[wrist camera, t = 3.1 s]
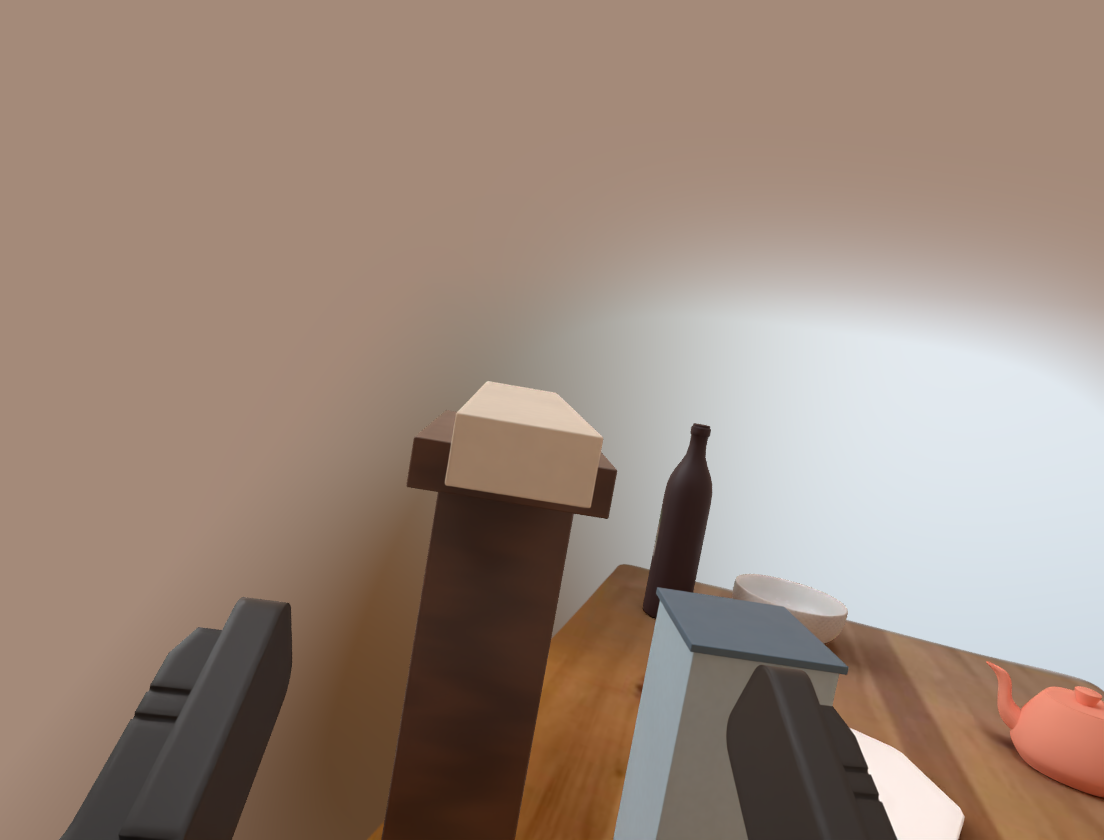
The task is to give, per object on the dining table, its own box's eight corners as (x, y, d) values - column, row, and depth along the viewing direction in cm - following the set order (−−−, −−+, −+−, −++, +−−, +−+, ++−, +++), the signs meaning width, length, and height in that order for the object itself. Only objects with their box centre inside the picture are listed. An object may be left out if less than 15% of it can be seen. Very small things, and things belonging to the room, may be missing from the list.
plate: (751, 866, 52) (755, 848, 52) (665, 705, 75) (668, 692, 75) (1022, 887, 55) (1027, 870, 55) (859, 726, 78) (862, 714, 78)
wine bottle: (678, 607, 109) (714, 425, 106) (694, 626, 102) (733, 431, 99) (637, 602, 107) (672, 418, 105) (649, 620, 100) (687, 424, 98)
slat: (443, 485, 18) (456, 412, 18) (480, 415, 38) (486, 380, 38) (590, 509, 18) (603, 437, 18) (550, 427, 38) (557, 393, 38)
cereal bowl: (851, 673, 94) (861, 624, 93) (730, 644, 97) (740, 597, 96) (825, 629, 111) (834, 588, 110) (722, 605, 114) (731, 565, 113)
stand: (297, 1172, 29) (414, 436, 26) (361, 931, 41) (445, 410, 38) (484, 1188, 29) (617, 470, 26) (492, 946, 41) (585, 433, 38)
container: (625, 972, 41) (691, 644, 39) (604, 855, 50) (657, 586, 49) (777, 989, 42) (849, 667, 40) (728, 870, 51) (784, 606, 49)
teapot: (1170, 832, 67) (1195, 743, 67) (964, 746, 78) (983, 669, 77) (1155, 783, 77) (1176, 705, 76) (973, 713, 88) (990, 644, 87)
